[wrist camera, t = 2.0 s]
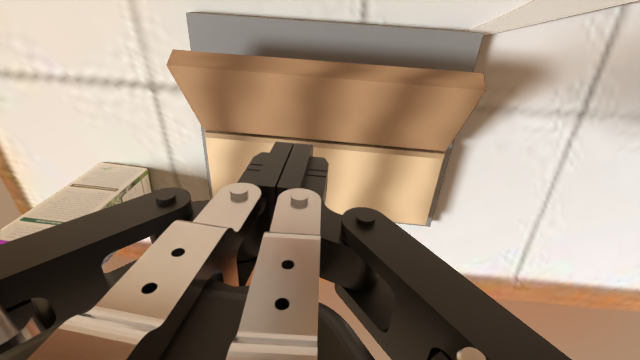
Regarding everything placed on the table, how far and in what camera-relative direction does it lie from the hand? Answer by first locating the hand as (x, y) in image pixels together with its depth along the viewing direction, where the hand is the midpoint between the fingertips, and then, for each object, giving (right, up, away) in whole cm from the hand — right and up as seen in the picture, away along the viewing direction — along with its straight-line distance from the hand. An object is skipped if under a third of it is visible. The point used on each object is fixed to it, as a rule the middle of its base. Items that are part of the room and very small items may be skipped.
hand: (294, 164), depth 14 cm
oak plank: (+1, 0, +20) cm, 20 cm away
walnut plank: (+1, +6, +13) cm, 15 cm away
